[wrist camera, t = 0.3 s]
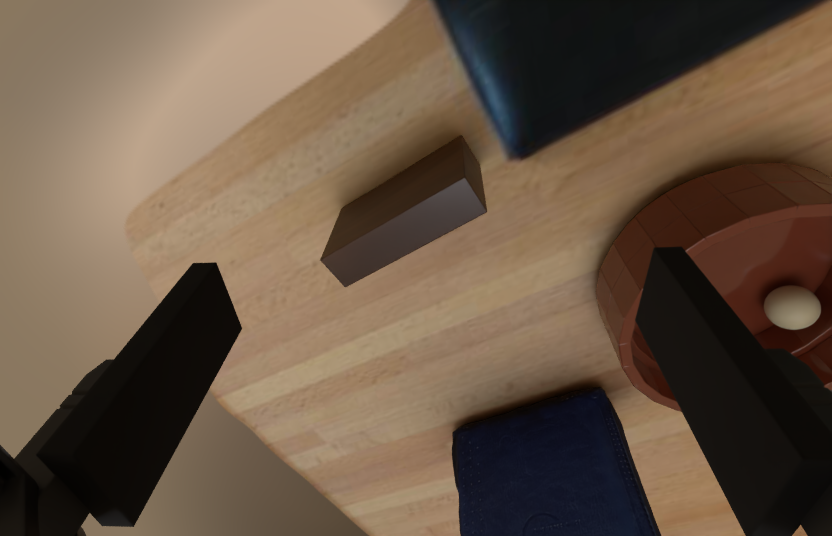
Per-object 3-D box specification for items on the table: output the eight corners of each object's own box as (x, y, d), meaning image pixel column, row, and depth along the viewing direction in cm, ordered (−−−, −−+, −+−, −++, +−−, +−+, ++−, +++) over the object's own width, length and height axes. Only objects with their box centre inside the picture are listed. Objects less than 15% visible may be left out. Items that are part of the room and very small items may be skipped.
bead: (763, 277, 29) (789, 305, 27) (809, 275, 29) (840, 303, 27) (748, 310, 31) (773, 339, 29) (793, 309, 31) (821, 338, 28)
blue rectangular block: (468, 452, 44) (481, 753, 27) (442, 420, 41) (438, 731, 25) (619, 409, 39) (745, 742, 22) (600, 370, 36) (725, 714, 20)
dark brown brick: (341, 208, 29) (319, 260, 24) (461, 134, 26) (465, 176, 21) (361, 233, 30) (345, 287, 25) (480, 165, 27) (487, 212, 22)
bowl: (611, 164, 27) (648, 212, 22) (898, 147, 25) (1007, 194, 20) (580, 352, 35) (602, 417, 30) (792, 347, 34) (851, 414, 29)
